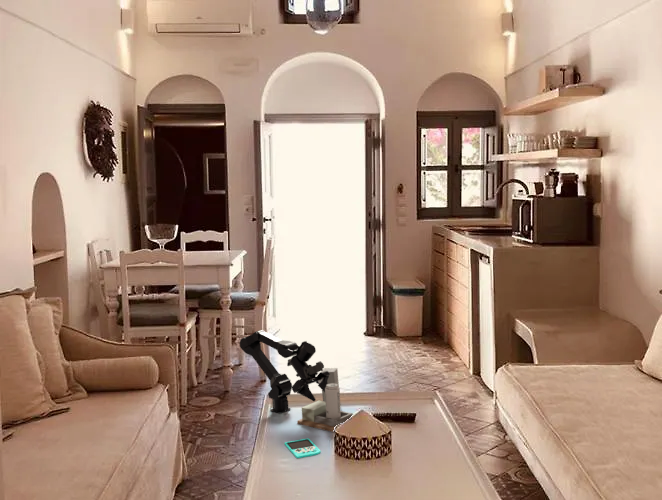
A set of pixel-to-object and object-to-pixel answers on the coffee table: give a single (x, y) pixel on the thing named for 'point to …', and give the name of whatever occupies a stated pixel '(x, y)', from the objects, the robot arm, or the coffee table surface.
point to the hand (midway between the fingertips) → (322, 397)
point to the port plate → (320, 417)
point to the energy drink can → (332, 401)
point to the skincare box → (331, 378)
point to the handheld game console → (302, 448)
